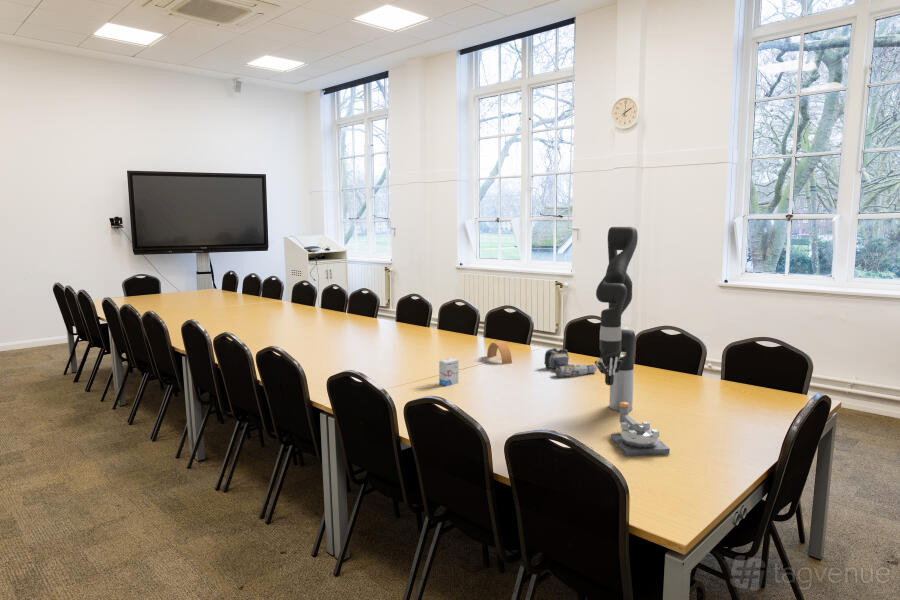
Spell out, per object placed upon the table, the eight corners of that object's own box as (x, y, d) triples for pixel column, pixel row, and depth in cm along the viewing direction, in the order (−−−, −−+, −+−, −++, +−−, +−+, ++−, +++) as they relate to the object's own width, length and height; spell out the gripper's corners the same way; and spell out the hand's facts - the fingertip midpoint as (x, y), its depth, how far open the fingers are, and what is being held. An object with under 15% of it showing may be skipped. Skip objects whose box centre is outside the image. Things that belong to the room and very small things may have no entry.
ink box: (445, 386, 276) (445, 362, 274) (439, 384, 279) (438, 360, 278) (459, 383, 281) (458, 359, 280) (452, 380, 285) (451, 357, 283)
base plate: (610, 439, 208) (610, 433, 208) (651, 437, 209) (651, 432, 209) (625, 456, 193) (625, 450, 193) (669, 454, 194) (669, 448, 194)
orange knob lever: (606, 424, 217) (606, 402, 215) (637, 423, 217) (638, 401, 216) (628, 448, 194) (629, 423, 193) (663, 446, 195) (664, 422, 194)
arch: (502, 364, 315) (502, 346, 314) (487, 356, 334) (487, 339, 332) (511, 363, 317) (511, 345, 316) (496, 355, 336) (496, 338, 334)
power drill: (537, 369, 306) (537, 348, 304) (573, 364, 314) (574, 345, 313) (560, 379, 285) (560, 358, 284) (598, 374, 294) (599, 353, 292)
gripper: (604, 342, 203) (602, 390, 205) (631, 337, 209) (630, 384, 211) (589, 338, 209) (588, 384, 212) (616, 334, 215) (615, 379, 218)
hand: (609, 384), depth 211 cm, fingers closed
